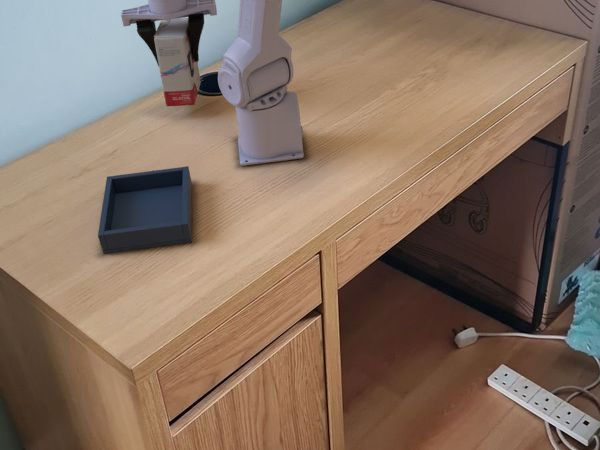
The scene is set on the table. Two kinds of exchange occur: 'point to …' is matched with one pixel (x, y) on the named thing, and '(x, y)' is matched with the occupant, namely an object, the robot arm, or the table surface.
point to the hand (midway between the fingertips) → (178, 61)
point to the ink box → (177, 62)
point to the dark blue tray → (146, 210)
